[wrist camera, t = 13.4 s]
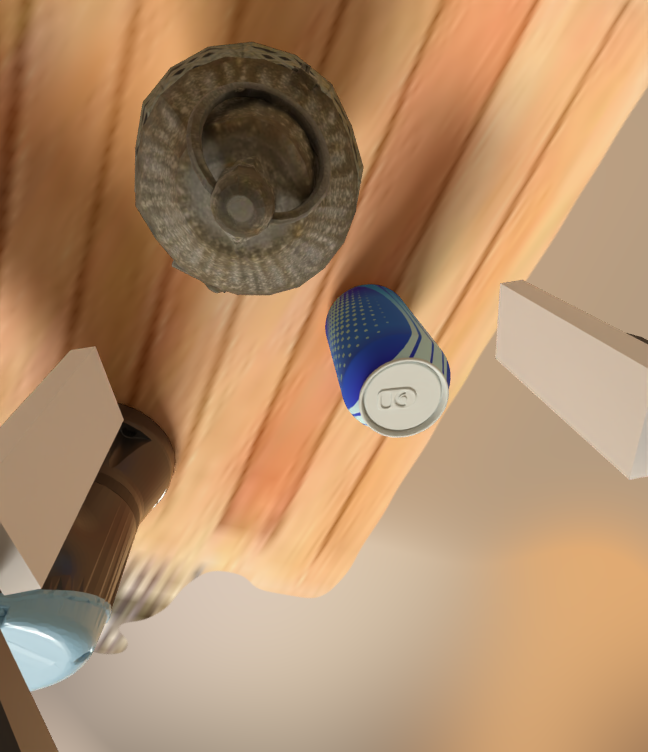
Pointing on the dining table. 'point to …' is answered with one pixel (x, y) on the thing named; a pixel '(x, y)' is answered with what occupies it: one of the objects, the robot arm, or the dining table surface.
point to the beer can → (386, 362)
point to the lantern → (246, 169)
